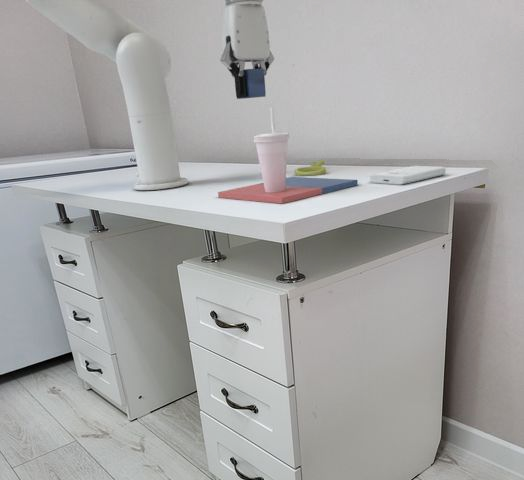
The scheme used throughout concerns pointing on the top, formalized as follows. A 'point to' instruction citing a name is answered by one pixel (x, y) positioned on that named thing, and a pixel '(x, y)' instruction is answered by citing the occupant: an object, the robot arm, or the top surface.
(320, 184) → the board
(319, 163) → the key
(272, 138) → the smoothie
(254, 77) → the blue block
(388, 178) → the hard drive
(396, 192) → the top surface
